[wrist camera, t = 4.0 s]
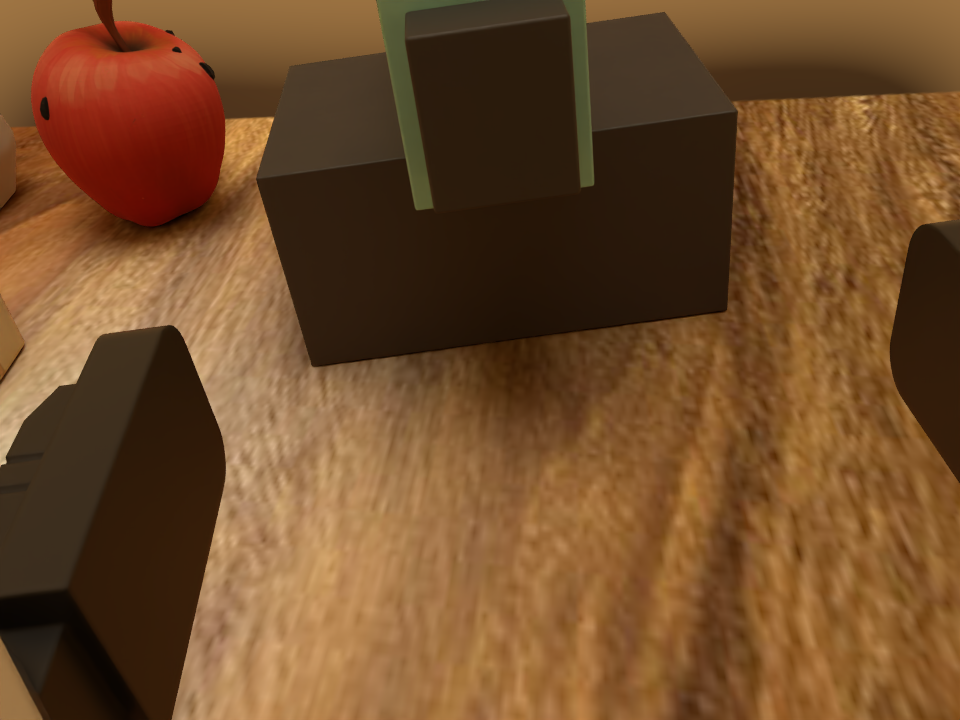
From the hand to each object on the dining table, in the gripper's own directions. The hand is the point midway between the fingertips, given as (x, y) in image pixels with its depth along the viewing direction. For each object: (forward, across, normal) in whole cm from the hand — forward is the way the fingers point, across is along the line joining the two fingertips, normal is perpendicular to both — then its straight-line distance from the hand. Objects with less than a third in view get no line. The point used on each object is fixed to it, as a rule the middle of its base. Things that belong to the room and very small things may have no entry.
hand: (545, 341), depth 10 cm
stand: (+17, 0, +9) cm, 19 cm away
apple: (+24, +13, +10) cm, 29 cm away
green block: (+14, 0, +1) cm, 14 cm away
